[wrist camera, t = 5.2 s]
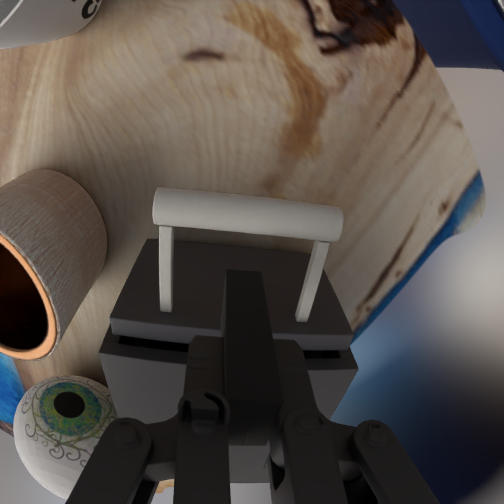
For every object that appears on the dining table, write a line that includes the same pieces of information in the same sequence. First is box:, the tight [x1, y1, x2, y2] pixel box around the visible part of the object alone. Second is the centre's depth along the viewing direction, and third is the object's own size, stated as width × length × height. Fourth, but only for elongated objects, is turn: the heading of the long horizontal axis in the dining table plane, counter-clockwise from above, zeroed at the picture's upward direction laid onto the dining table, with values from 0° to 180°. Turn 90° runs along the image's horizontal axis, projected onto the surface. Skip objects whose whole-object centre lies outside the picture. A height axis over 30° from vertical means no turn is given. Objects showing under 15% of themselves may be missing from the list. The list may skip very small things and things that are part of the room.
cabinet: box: [99, 323, 358, 483], centre depth 24 cm, size 18×14×11 cm
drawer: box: [110, 187, 354, 358], centre depth 21 cm, size 23×13×9 cm, turn 172°
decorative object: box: [13, 375, 119, 499], centre depth 25 cm, size 15×15×15 cm
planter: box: [0, 169, 107, 361], centre depth 18 cm, size 11×11×10 cm
